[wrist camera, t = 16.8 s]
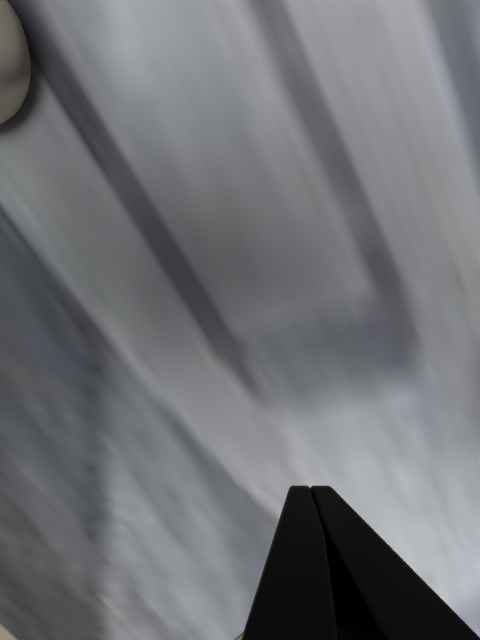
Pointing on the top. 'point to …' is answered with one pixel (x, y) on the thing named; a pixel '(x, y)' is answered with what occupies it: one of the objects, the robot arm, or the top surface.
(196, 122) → the top surface
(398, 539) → the top surface
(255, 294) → the top surface
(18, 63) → the plastic bottle
